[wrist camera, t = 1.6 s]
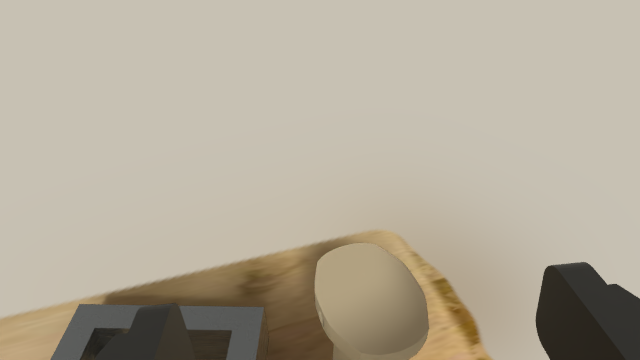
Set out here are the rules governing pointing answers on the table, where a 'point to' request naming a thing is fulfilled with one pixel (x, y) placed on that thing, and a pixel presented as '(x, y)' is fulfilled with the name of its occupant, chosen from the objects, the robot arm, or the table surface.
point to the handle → (370, 304)
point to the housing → (201, 322)
